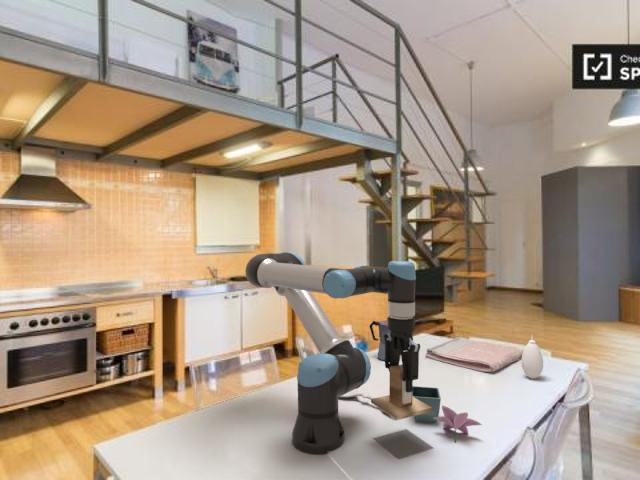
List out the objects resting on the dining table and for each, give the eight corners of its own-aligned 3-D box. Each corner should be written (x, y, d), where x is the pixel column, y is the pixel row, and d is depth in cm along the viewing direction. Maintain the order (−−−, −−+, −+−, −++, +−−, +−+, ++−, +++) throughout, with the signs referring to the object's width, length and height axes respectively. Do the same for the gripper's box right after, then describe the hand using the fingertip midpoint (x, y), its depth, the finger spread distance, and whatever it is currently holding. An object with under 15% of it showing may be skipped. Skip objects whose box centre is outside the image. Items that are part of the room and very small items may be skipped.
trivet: (398, 461, 102) (398, 459, 102) (372, 440, 113) (372, 438, 113) (434, 449, 107) (434, 448, 107) (406, 430, 118) (406, 429, 118)
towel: (459, 344, 214) (459, 334, 214) (525, 358, 189) (525, 346, 189) (423, 359, 190) (423, 347, 190) (493, 376, 165) (493, 363, 165)
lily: (487, 448, 110) (484, 411, 114) (464, 444, 103) (461, 405, 108) (450, 446, 118) (448, 411, 123) (426, 442, 112) (425, 406, 116)
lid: (396, 420, 102) (396, 378, 102) (371, 402, 113) (371, 364, 113) (432, 411, 108) (432, 371, 107) (404, 395, 118) (404, 358, 118)
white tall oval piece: (541, 383, 156) (541, 337, 156) (520, 378, 160) (519, 334, 160) (544, 377, 162) (544, 333, 162) (523, 373, 167) (523, 331, 166)
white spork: (395, 422, 124) (395, 411, 124) (323, 394, 146) (323, 385, 146) (410, 413, 130) (410, 403, 130) (339, 388, 153) (339, 379, 153)
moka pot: (404, 361, 184) (403, 319, 184) (371, 362, 184) (370, 319, 184) (400, 355, 193) (399, 315, 193) (368, 355, 193) (368, 315, 193)
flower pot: (441, 427, 120) (441, 398, 120) (411, 425, 122) (411, 396, 122) (438, 414, 128) (438, 387, 128) (410, 412, 130) (410, 385, 130)
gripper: (433, 321, 104) (432, 409, 104) (393, 309, 119) (392, 385, 120) (410, 324, 100) (410, 414, 101) (372, 311, 116) (372, 390, 117)
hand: (400, 398), depth 110 cm, fingers closed on lid, 4 cm apart
